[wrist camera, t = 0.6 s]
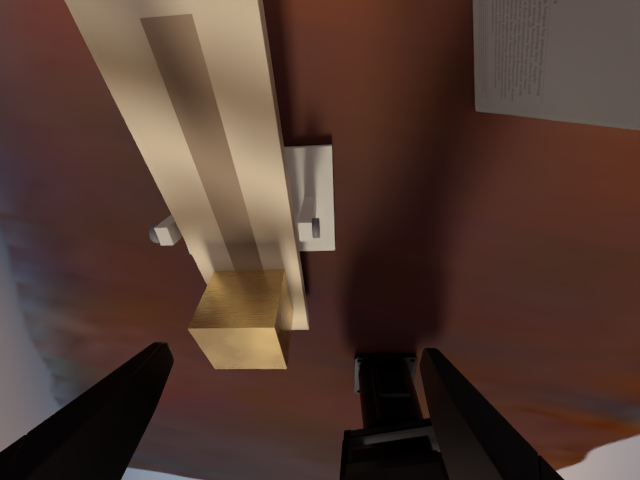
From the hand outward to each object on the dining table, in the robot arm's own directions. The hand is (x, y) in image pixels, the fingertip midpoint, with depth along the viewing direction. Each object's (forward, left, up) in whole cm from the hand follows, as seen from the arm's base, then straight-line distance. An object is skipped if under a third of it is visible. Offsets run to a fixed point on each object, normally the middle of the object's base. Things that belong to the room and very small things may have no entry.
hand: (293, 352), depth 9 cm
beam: (+1, +4, -9) cm, 10 cm away
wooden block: (-5, +4, -9) cm, 11 cm away
